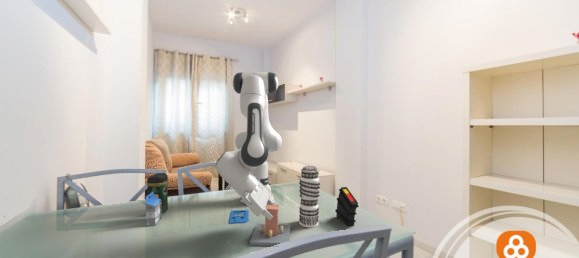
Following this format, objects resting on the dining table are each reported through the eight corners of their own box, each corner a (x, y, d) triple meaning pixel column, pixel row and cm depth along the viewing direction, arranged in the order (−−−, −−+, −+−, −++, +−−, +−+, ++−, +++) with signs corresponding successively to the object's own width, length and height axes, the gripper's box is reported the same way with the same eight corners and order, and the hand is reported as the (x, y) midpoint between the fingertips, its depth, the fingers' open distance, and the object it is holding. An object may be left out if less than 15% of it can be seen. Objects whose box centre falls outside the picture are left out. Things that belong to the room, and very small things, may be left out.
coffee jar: (153, 208, 120) (153, 171, 120) (169, 208, 121) (170, 171, 121) (143, 216, 111) (144, 175, 110) (161, 216, 112) (162, 175, 111)
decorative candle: (293, 222, 107) (295, 166, 107) (308, 217, 113) (310, 164, 112) (308, 229, 100) (309, 169, 100) (323, 224, 106) (324, 167, 105)
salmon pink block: (266, 229, 96) (266, 204, 96) (278, 230, 96) (278, 205, 96) (264, 235, 92) (265, 208, 92) (277, 235, 92) (277, 209, 91)
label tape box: (155, 225, 101) (156, 196, 101) (144, 226, 100) (145, 196, 100) (162, 217, 109) (162, 190, 109) (152, 218, 109) (152, 191, 108)
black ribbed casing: (339, 210, 119) (346, 186, 112) (352, 232, 108) (361, 207, 101) (332, 211, 118) (339, 186, 111) (344, 233, 106) (354, 207, 100)
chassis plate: (257, 226, 102) (257, 217, 102) (290, 227, 102) (290, 218, 102) (249, 245, 86) (249, 235, 86) (288, 246, 86) (288, 236, 86)
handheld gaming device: (229, 222, 104) (231, 209, 119) (229, 224, 104) (231, 212, 119) (248, 221, 106) (248, 209, 121) (248, 223, 106) (248, 211, 121)
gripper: (248, 189, 84) (276, 218, 83) (258, 176, 104) (280, 199, 104) (235, 201, 84) (263, 230, 84) (247, 186, 104) (270, 209, 104)
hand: (272, 213), depth 94 cm, fingers open, 8 cm apart
